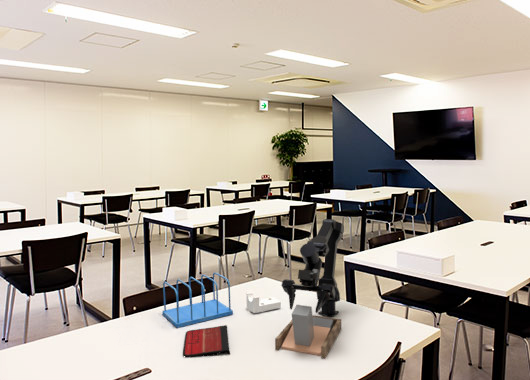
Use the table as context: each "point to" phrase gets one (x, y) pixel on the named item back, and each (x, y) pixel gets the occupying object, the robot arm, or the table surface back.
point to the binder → (206, 342)
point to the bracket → (261, 303)
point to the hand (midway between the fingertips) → (303, 310)
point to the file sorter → (196, 306)
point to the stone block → (303, 325)
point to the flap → (320, 334)
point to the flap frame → (325, 346)
